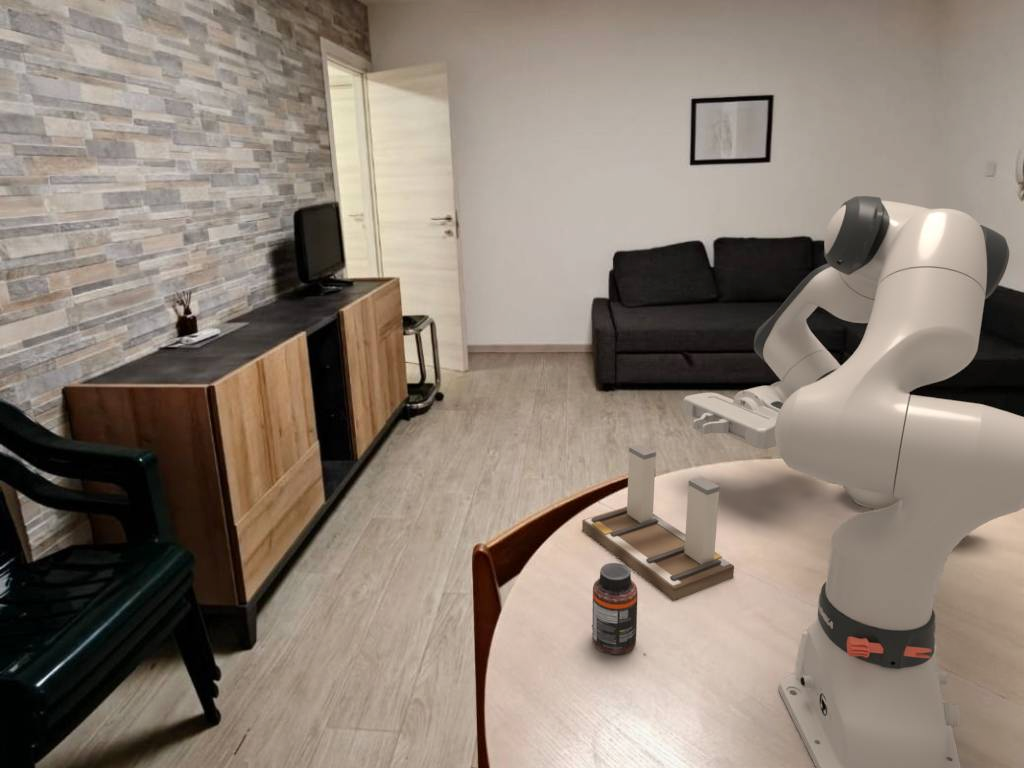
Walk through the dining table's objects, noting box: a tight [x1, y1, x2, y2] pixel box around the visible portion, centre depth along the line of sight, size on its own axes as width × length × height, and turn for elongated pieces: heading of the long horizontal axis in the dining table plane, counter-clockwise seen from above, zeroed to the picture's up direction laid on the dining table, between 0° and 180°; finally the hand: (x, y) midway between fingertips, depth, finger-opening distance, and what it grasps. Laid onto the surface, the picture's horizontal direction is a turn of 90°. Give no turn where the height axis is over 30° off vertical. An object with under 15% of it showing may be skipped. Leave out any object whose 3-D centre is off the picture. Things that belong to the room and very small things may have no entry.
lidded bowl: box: [842, 485, 900, 510], centre depth 135 cm, size 13×13×11 cm
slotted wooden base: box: [581, 506, 735, 601], centre depth 120 cm, size 24×12×3 cm, turn 29°
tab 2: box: [684, 476, 720, 565], centre depth 113 cm, size 4×2×13 cm, turn 29°
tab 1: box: [626, 443, 657, 523], centre depth 126 cm, size 4×2×13 cm, turn 29°
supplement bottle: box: [591, 562, 639, 655], centre depth 98 cm, size 6×6×11 cm
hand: (698, 427), depth 129 cm, fingers closed
